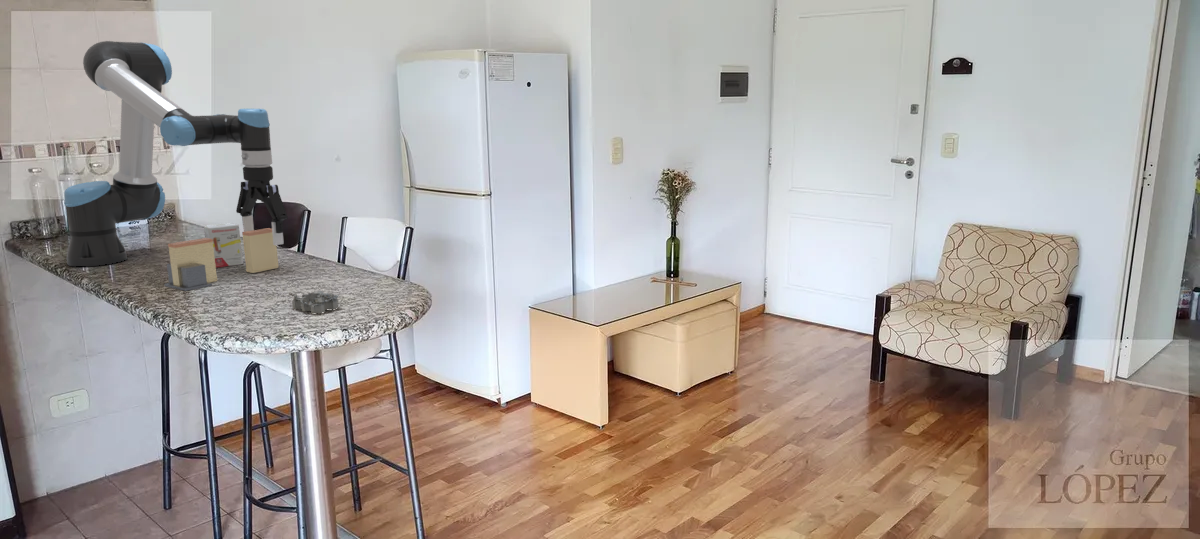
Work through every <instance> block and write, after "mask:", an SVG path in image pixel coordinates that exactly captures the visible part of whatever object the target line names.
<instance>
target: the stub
mask: <svg viewBox="0 0 1200 539" xmlns="http://www.w3.org/2000/svg"><path fill="white" fill-rule="evenodd" d="M242 242H243V251H244V260H245V268H246V269H245V270H246V272H247V273H250V274H255V273H260V272H265V271H270V270H274V269H275V270H276V269H278V268H279V257H278V256H279V255H278V249H277V248H278V247H277V246H278V245H273V234H272V227H271V228H270V227H268V228H267V227H266V228H260V229H254V230H252V231H246V232H244V231H242Z"/></svg>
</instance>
